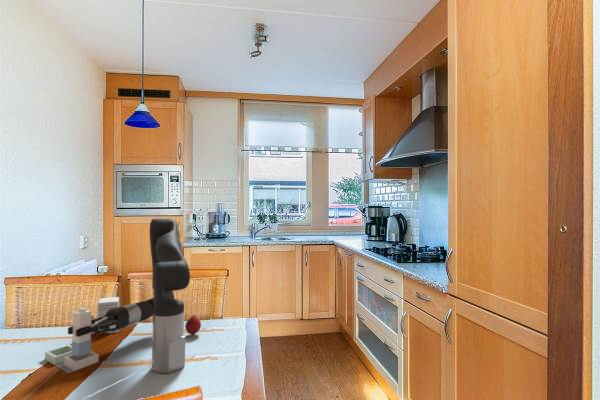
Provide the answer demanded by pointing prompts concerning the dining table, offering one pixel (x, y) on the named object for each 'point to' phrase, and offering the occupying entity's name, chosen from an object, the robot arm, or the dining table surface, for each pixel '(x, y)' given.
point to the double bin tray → (70, 359)
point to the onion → (193, 325)
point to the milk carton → (83, 342)
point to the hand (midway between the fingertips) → (72, 332)
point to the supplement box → (107, 307)
